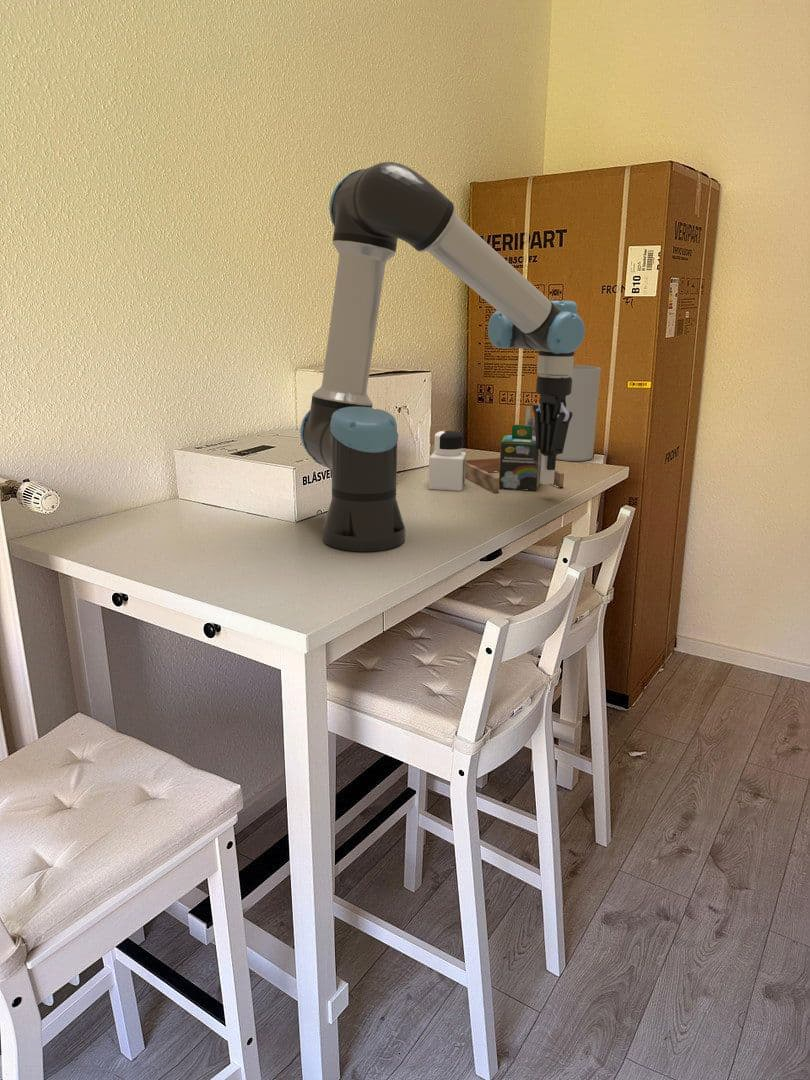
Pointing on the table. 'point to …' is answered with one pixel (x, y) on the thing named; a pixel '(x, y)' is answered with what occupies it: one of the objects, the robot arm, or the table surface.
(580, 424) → the cylinder vase
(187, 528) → the table surface
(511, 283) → the robot arm
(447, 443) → the container
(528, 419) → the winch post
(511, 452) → the chalk box
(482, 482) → the bay
